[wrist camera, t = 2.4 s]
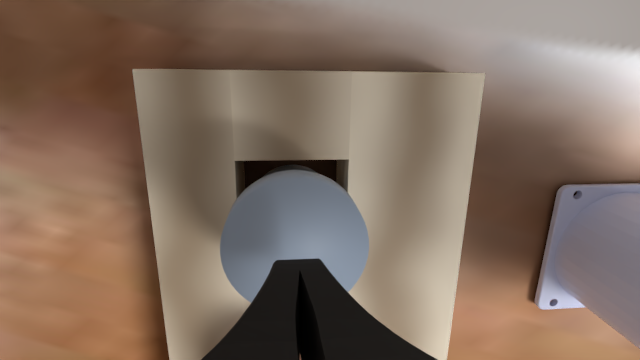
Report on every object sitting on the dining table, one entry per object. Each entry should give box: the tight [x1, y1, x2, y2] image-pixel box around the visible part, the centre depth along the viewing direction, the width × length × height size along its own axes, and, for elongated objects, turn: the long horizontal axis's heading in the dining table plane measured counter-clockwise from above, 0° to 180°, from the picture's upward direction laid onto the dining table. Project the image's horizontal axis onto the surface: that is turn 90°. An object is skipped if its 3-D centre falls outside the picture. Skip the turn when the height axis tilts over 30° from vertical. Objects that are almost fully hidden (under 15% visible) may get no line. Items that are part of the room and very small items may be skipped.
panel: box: [132, 69, 485, 360], centre depth 20 cm, size 14×28×4 cm, turn 179°
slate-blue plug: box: [220, 165, 369, 303], centre depth 15 cm, size 5×5×5 cm
